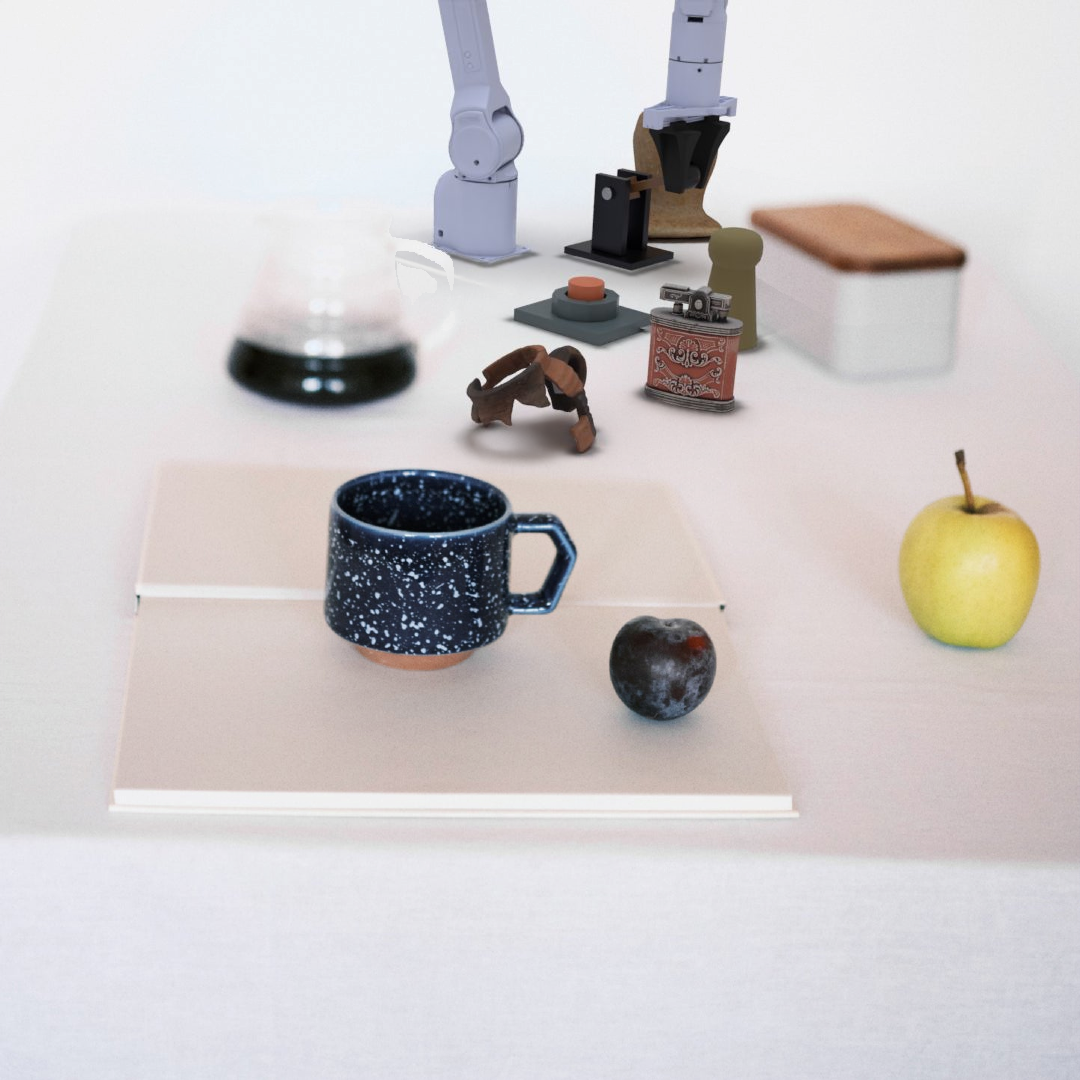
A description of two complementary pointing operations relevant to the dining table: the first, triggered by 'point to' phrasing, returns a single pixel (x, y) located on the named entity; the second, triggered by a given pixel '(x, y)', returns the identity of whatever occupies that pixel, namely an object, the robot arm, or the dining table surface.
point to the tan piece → (671, 196)
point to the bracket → (620, 225)
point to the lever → (658, 181)
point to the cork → (737, 276)
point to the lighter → (693, 349)
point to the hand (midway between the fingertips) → (684, 189)
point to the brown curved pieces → (535, 388)
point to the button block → (584, 317)
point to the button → (586, 288)
